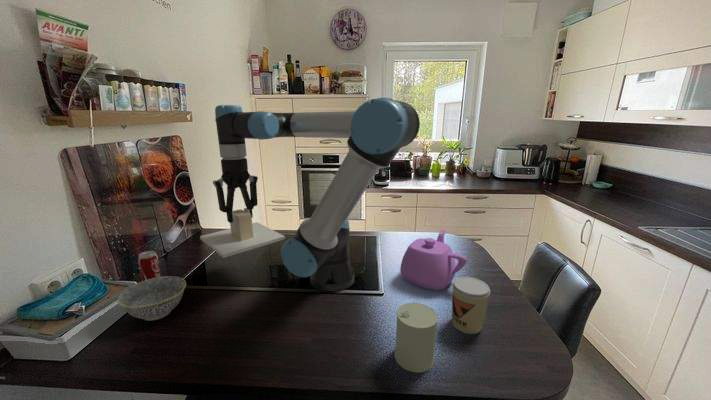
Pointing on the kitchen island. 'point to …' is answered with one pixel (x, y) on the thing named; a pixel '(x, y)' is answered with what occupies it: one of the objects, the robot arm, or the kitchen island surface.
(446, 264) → the teapot
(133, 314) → the bowl
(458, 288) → the cream canister
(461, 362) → the kitchen island surface
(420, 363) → the can
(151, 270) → the soda can
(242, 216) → the lid
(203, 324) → the kitchen island surface
